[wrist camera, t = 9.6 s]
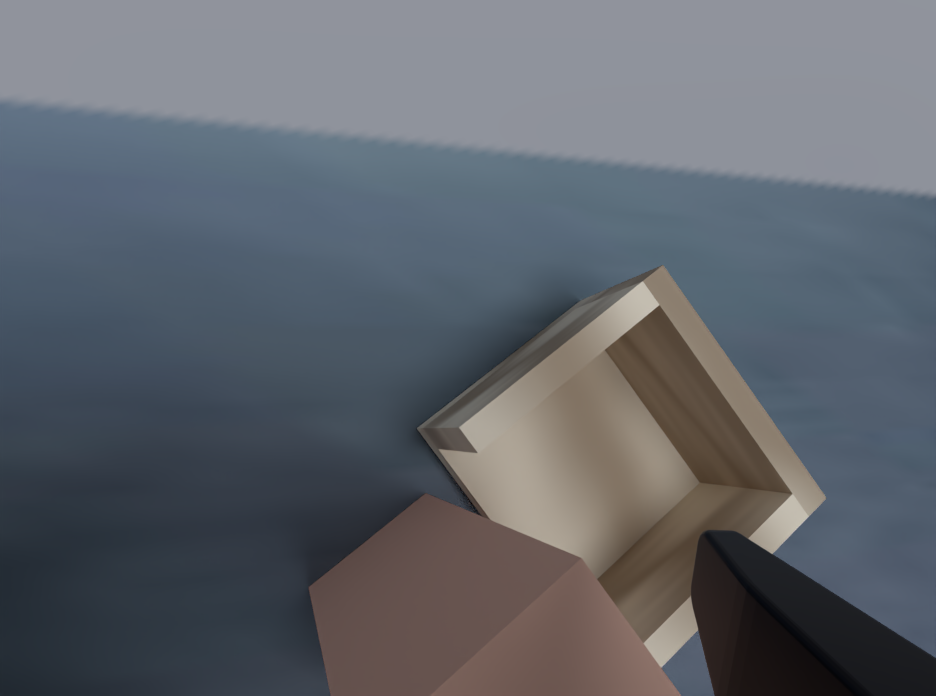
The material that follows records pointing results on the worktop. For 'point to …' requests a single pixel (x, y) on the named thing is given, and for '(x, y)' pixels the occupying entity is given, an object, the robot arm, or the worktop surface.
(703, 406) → the birch box
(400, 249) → the worktop surface
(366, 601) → the terracotta block
